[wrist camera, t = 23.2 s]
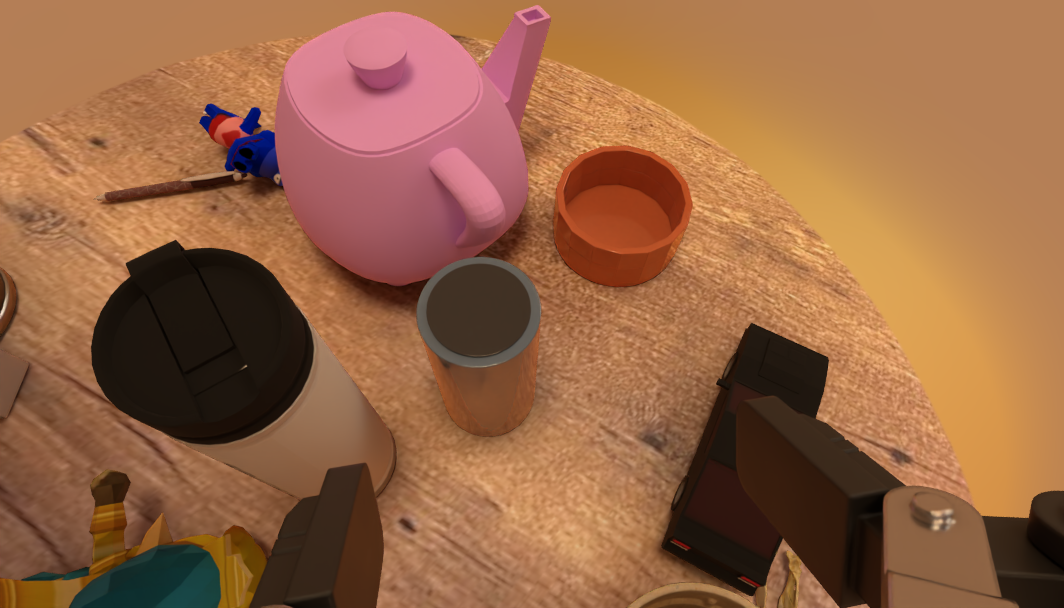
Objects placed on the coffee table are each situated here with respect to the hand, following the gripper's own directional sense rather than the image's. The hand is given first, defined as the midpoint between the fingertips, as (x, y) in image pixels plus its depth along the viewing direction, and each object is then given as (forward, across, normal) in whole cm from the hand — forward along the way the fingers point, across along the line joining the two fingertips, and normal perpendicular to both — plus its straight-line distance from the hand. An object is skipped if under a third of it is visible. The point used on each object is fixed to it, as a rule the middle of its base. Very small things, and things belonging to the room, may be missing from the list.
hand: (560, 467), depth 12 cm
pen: (+39, +23, -4) cm, 45 cm away
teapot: (+35, +2, 0) cm, 35 cm away
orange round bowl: (+32, -10, +2) cm, 34 cm away
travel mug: (+23, +10, +12) cm, 28 cm away
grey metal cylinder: (+25, +1, +10) cm, 27 cm away
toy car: (+20, -14, +15) cm, 28 cm away
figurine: (+40, +19, -10) cm, 46 cm away
